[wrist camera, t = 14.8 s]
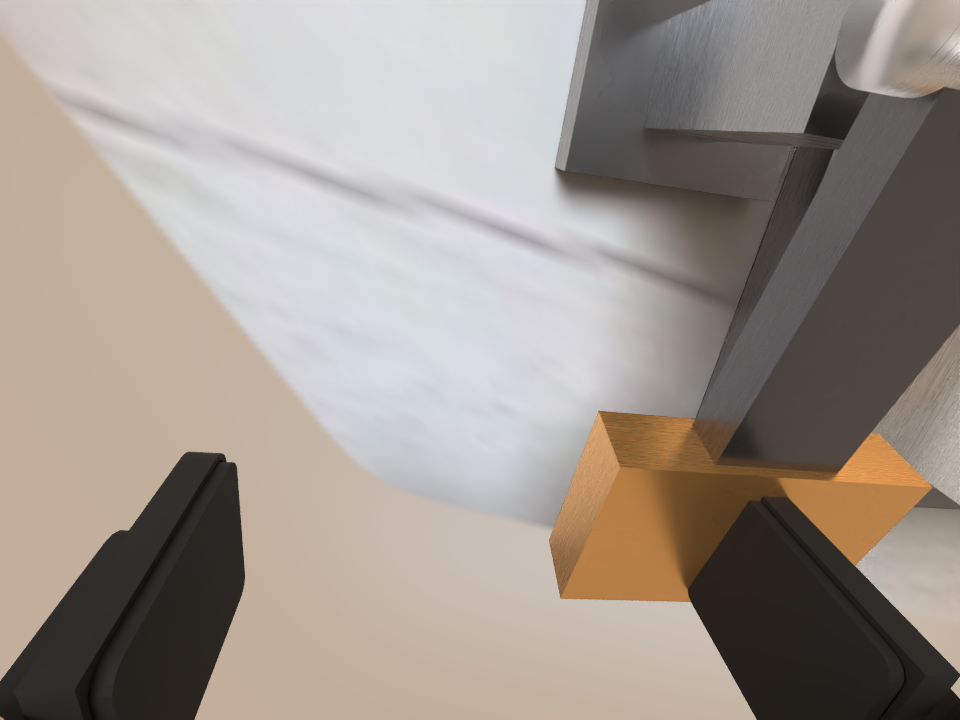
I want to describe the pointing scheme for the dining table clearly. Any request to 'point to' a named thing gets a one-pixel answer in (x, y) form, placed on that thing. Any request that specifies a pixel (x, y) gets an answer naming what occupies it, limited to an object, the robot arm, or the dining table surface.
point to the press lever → (803, 345)
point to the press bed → (715, 111)
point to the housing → (930, 420)
